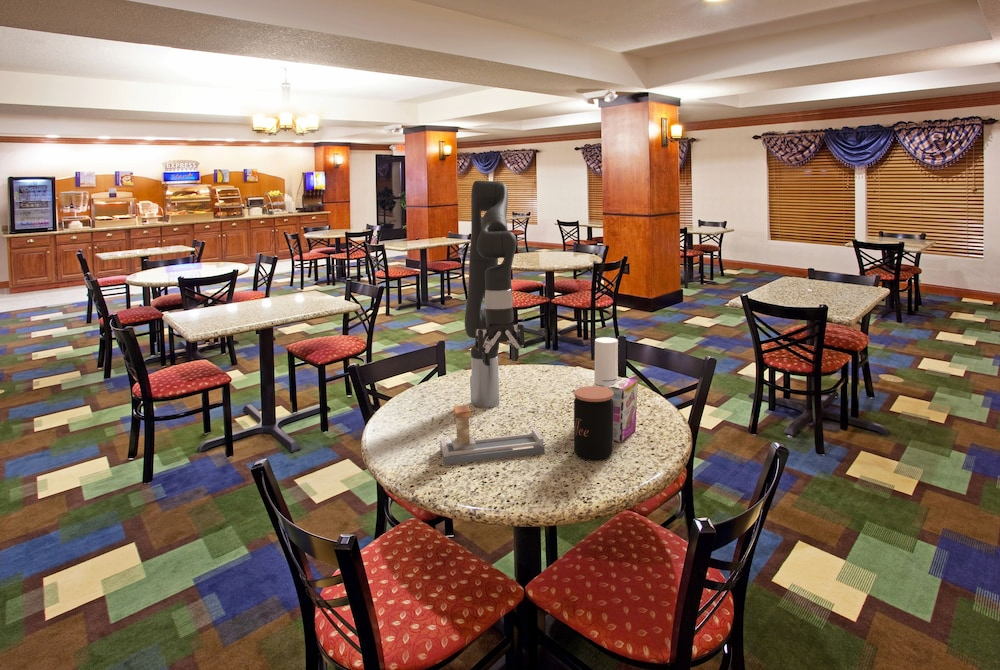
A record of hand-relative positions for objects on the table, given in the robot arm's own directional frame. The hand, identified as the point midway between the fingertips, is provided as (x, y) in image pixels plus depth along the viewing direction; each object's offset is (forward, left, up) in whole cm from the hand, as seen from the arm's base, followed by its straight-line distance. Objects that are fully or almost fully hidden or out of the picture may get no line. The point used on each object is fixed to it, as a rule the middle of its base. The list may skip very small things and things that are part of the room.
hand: (500, 363), depth 168 cm
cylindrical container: (+5, +41, -25) cm, 48 cm away
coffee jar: (+21, +15, -25) cm, 36 cm away
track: (0, -4, -25) cm, 25 cm away
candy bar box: (+19, +31, -25) cm, 44 cm away
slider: (-4, -11, -23) cm, 26 cm away
